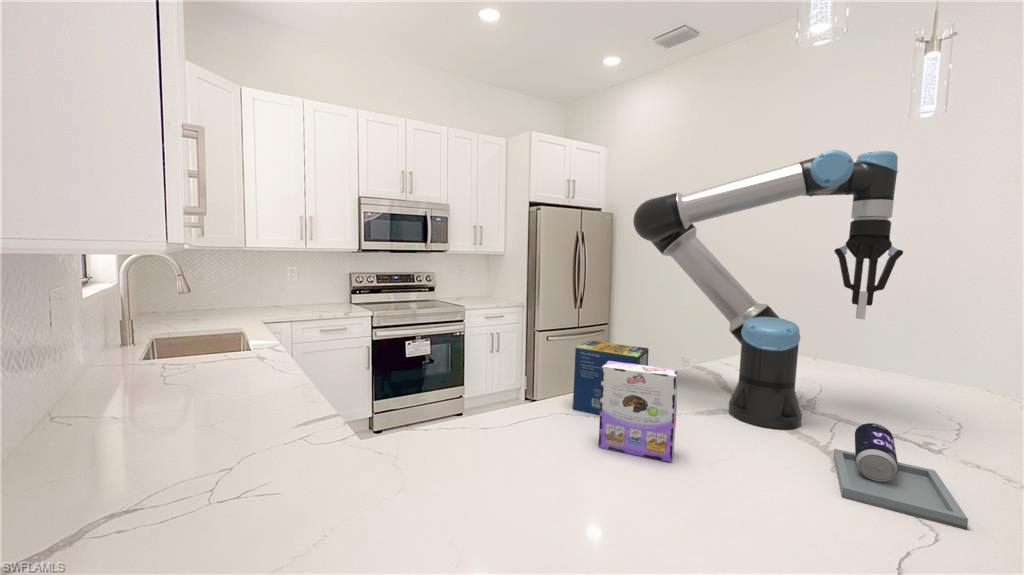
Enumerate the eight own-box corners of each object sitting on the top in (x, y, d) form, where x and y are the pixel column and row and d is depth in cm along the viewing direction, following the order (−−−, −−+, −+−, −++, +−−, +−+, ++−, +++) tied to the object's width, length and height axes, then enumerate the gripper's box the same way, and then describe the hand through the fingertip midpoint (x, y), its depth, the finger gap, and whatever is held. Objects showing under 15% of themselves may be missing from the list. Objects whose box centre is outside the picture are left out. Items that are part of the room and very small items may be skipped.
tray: (842, 497, 71) (842, 487, 71) (833, 456, 85) (834, 448, 85) (966, 529, 63) (968, 519, 63) (933, 478, 78) (934, 470, 78)
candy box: (674, 451, 86) (679, 368, 84) (671, 464, 80) (677, 375, 79) (604, 436, 91) (607, 358, 90) (597, 447, 86) (601, 365, 85)
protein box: (586, 398, 116) (589, 339, 115) (646, 410, 108) (649, 347, 107) (571, 409, 107) (574, 346, 106) (634, 423, 99) (638, 356, 98)
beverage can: (892, 452, 82) (898, 488, 73) (854, 445, 86) (854, 478, 77) (893, 424, 81) (899, 456, 72) (855, 418, 85) (855, 448, 76)
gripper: (903, 220, 104) (892, 320, 106) (835, 221, 110) (825, 314, 113) (911, 218, 97) (898, 323, 99) (838, 218, 104) (828, 317, 106)
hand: (860, 318), depth 106 cm, fingers closed
